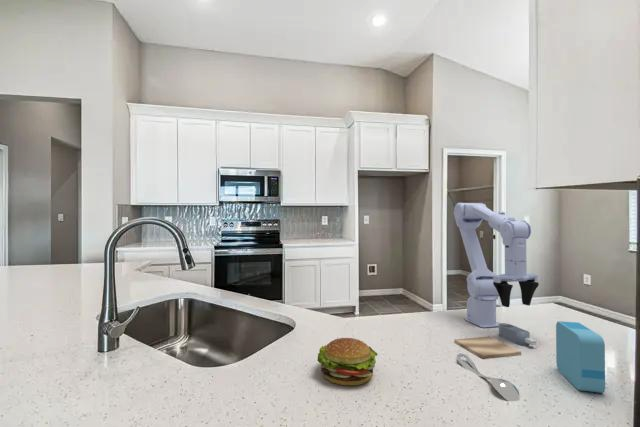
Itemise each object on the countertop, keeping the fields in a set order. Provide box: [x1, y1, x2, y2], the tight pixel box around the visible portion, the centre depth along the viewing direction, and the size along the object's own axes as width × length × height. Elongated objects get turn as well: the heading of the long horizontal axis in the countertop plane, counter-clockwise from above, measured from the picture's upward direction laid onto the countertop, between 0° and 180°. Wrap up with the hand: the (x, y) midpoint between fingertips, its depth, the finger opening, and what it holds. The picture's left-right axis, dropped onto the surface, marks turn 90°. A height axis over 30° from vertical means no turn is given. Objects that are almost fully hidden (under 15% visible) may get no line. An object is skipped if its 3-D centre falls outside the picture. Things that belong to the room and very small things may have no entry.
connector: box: [498, 322, 537, 347], centre depth 100 cm, size 12×4×4 cm, turn 13°
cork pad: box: [453, 336, 522, 360], centre depth 94 cm, size 12×12×1 cm
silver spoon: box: [456, 353, 520, 402], centre depth 77 cm, size 20×4×5 cm
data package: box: [555, 320, 606, 394], centre depth 75 cm, size 12×4×12 cm, turn 165°
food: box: [316, 337, 378, 386], centre depth 79 cm, size 14×14×8 cm
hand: (515, 305), depth 101 cm, fingers open, 7 cm apart
